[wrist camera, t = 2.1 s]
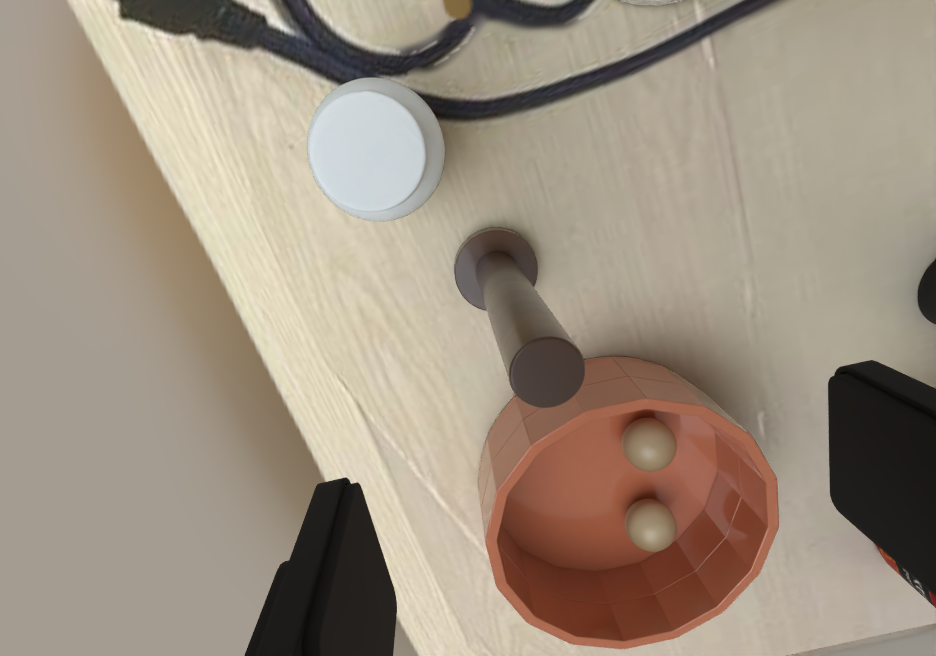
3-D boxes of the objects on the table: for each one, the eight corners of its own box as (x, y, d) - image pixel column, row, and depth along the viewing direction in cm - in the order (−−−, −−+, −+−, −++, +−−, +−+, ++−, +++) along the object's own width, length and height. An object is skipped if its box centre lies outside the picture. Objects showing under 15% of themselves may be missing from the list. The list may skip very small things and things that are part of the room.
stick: (446, 237, 29) (455, 318, 15) (526, 219, 29) (614, 282, 15) (463, 314, 30) (487, 456, 16) (541, 297, 30) (632, 424, 16)
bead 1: (611, 415, 32) (628, 440, 29) (661, 403, 32) (683, 428, 29) (617, 458, 33) (635, 487, 30) (666, 447, 33) (688, 475, 30)
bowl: (455, 387, 32) (459, 438, 26) (712, 330, 32) (773, 370, 26) (504, 591, 36) (517, 672, 31) (728, 543, 36) (783, 616, 31)
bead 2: (614, 494, 34) (631, 526, 31) (662, 484, 34) (683, 514, 31) (621, 533, 35) (637, 567, 32) (667, 524, 35) (687, 557, 32)
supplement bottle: (359, 74, 26) (319, 33, 17) (460, 124, 27) (472, 109, 18) (321, 179, 28) (265, 192, 19) (418, 223, 29) (410, 255, 20)
